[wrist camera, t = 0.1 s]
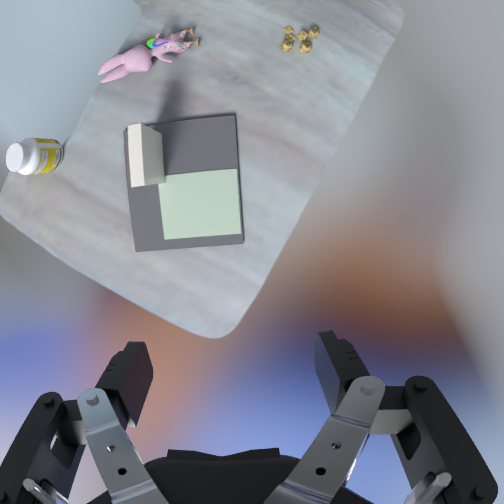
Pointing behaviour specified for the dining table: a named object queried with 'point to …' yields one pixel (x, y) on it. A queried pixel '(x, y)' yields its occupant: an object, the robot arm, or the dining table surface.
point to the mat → (190, 188)
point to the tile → (145, 156)
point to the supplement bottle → (34, 156)
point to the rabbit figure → (144, 55)
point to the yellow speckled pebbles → (302, 36)
